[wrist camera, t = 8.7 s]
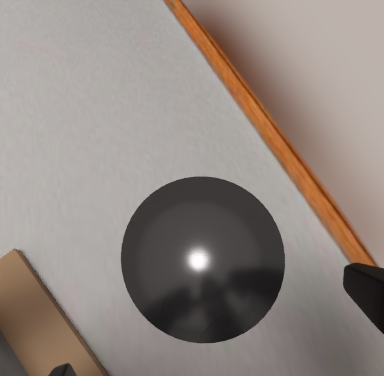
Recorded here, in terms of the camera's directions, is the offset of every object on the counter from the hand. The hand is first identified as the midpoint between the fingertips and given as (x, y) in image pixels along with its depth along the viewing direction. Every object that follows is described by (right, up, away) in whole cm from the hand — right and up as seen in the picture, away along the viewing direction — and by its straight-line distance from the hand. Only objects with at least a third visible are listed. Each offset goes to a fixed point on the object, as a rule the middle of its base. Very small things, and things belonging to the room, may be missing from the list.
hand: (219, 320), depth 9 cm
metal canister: (-1, -2, +10) cm, 11 cm away
